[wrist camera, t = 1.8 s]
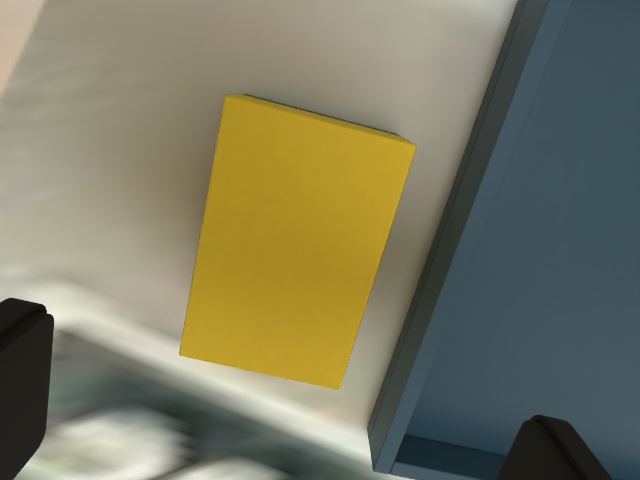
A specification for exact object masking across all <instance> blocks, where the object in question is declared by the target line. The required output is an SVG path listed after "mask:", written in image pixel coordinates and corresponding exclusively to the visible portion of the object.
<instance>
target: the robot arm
mask: <svg viewBox="0 0 640 480" xmlns="http://www.w3.org/2000/svg"><path fill="white" fill-rule="evenodd" d="M53 330H54V318H53V316H52V315H51V314H47V310H46V307H45V306H44V305H43V304H38V303H34V302H29V301H25V300H20V299H16V298H8V299H6V300H4V301H2V302H0V480H13V479H14V478H15V477H16V475H17V474H18V473H19V472H20V470H21V469H22V468H23V467H24V466H25V464H26V463H27V462H28V461H29V459H30V458H31V457H32V456H33V455H34V453H35V452H36V451H37V449H38V448H39V446H40V444H41V443H42V440H43V438H44V435H45V431H46V422H47V408H48V395H49V382H50V369H51V356H52V343H53ZM496 480H613V479H612V477H611V476H610V475H609V474H608V472H607V471H606V470H605V468H604V467H603V466H602V464H601V463H600V462H599V460H598V459H597V458H596V456H595V455H594V454H593V453H592V451H591V450H590V449H589V447H588V446H587V445H586V443H585V442H584V441H583V439H582V438H581V437H580V435H579V434H578V433H577V432H576V430H575V429H574V428H573V426H572V425H571V424H570V423H569V422H568V421H565V420H562V419H557V418H553V417H548V416H544V415H534V416H533V417H532V418H531V419H530V420H526V421H524V422H523V423H522V425H521V427H520V429H519V431H518V433H517V435H516V438H515V440H514V442H513V444H512V446H511V448H510V450H509V453H508V455H507V457H506V459H505V461H504V463H503V465H502V467H501V470H500V472H499V474H498V476H497V478H496Z"/></svg>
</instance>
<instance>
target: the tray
mask: <svg viewBox="0 0 640 480" xmlns="http://www.w3.org/2000/svg"><path fill="white" fill-rule="evenodd" d="M534 415H544V416H548V417H553V418H557V419H562V420H565V421H568V422H569V423H570V424H571V425H572V426H573V428H574V429H575V430H576V432H577V433H578V434H579V435H580V437H581V438H582V439H583V441H584V442H585V443H586V445H587V446H588V447H589V449H590V450H591V451H592V453H593V454H594V455H595V456H596V458H597V459H598V460H599V462H600V463H601V464H602V466H603V467H604V468H605V470H606V471H607V472H608V474H609V475H610V476H611V477H612V479H613V480H640V0H519V1H518V4H517V7H516V9H515V12H514V15H513V18H512V21H511V23H510V26H509V29H508V32H507V35H506V38H505V40H504V43H503V46H502V49H501V52H500V55H499V57H498V60H497V63H496V66H495V69H494V72H493V74H492V77H491V80H490V83H489V86H488V88H487V91H486V94H485V97H484V100H483V103H482V105H481V108H480V111H479V114H478V117H477V120H476V122H475V125H474V128H473V131H472V134H471V137H470V139H469V142H468V145H467V148H466V151H465V153H464V156H463V159H462V162H461V165H460V168H459V170H458V173H457V176H456V179H455V182H454V185H453V187H452V190H451V193H450V196H449V199H448V202H447V204H446V207H445V210H444V213H443V216H442V218H441V221H440V224H439V227H438V230H437V233H436V235H435V238H434V241H433V244H432V247H431V250H430V252H429V255H428V258H427V261H426V264H425V267H424V269H423V272H422V275H421V278H420V281H419V283H418V286H417V289H416V292H415V295H414V298H413V300H412V303H411V306H410V309H409V312H408V315H407V317H406V320H405V323H404V326H403V329H402V332H401V334H400V337H399V340H398V343H397V346H396V349H395V351H394V354H393V357H392V360H391V363H390V365H389V368H388V371H387V374H386V377H385V380H384V382H383V385H382V388H381V391H380V394H379V397H378V399H377V402H376V405H375V408H374V411H373V414H372V416H371V419H370V422H369V425H368V428H367V431H368V438H369V445H370V452H371V459H372V466H373V471H374V472H379V473H384V474H389V473H390V474H391V475H395V476H400V477H405V478H410V479H415V480H496V478H497V476H498V474H499V472H500V470H501V467H502V465H503V463H504V461H505V459H506V457H507V455H508V453H509V450H510V448H511V446H512V444H513V442H514V440H515V438H516V435H517V433H518V431H519V429H520V427H521V425H522V423H523V422H524V421H526V420H530V419H531V418H532V417H533V416H534Z"/></svg>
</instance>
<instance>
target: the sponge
mask: <svg viewBox="0 0 640 480" xmlns="http://www.w3.org/2000/svg"><path fill="white" fill-rule="evenodd" d="M415 150H416V145H415V144H413V143H412V142H410V141H408V140H406V139H404V138H403V137H401V136H399V135H397V134H395V133H391V132H387V131H383V130H379V129H376V128H372V127H368V126H364V125H360V124H357V123H353V122H349V121H345V120H342V119H338V118H334V117H330V116H326V115H323V114H319V113H315V112H311V111H308V110H304V109H300V108H296V107H292V106H289V105H285V104H281V103H277V102H273V101H270V100H266V99H262V98H258V97H255V96H251V95H247V94H242V95H226V96H225V97H224V103H223V109H222V114H221V120H220V125H219V131H218V137H217V142H216V148H215V154H214V159H213V165H212V171H211V176H210V182H209V187H208V193H207V199H206V204H205V210H204V216H203V221H202V227H201V233H200V238H199V244H198V249H197V255H196V261H195V266H194V272H193V278H192V283H191V289H190V295H189V300H188V306H187V311H186V317H185V323H184V328H183V334H182V340H181V345H180V351H179V355H180V356H184V357H189V358H194V359H198V360H203V361H208V362H212V363H217V364H221V365H226V366H231V367H235V368H240V369H245V370H249V371H254V372H258V373H263V374H268V375H272V376H277V377H282V378H286V379H291V380H296V381H300V382H305V383H309V384H314V385H319V386H323V387H328V388H333V389H337V390H338V389H339V388H340V385H341V382H342V379H343V376H344V373H345V370H346V367H347V363H348V360H349V357H350V354H351V351H352V348H353V345H354V341H355V338H356V335H357V332H358V329H359V326H360V323H361V319H362V316H363V313H364V310H365V307H366V304H367V301H368V297H369V294H370V291H371V288H372V285H373V282H374V279H375V275H376V272H377V269H378V266H379V263H380V260H381V257H382V253H383V250H384V247H385V244H386V241H387V238H388V235H389V232H390V228H391V225H392V222H393V219H394V216H395V213H396V210H397V206H398V203H399V200H400V197H401V194H402V191H403V188H404V184H405V181H406V178H407V175H408V172H409V169H410V166H411V162H412V159H413V156H414V153H415Z"/></svg>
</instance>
